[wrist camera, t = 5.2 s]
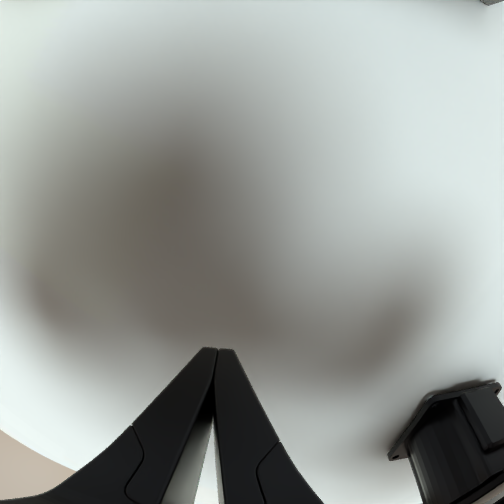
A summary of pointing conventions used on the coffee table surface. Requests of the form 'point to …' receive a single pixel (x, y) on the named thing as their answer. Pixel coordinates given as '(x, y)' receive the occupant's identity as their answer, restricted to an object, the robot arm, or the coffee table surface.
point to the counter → (491, 1)
